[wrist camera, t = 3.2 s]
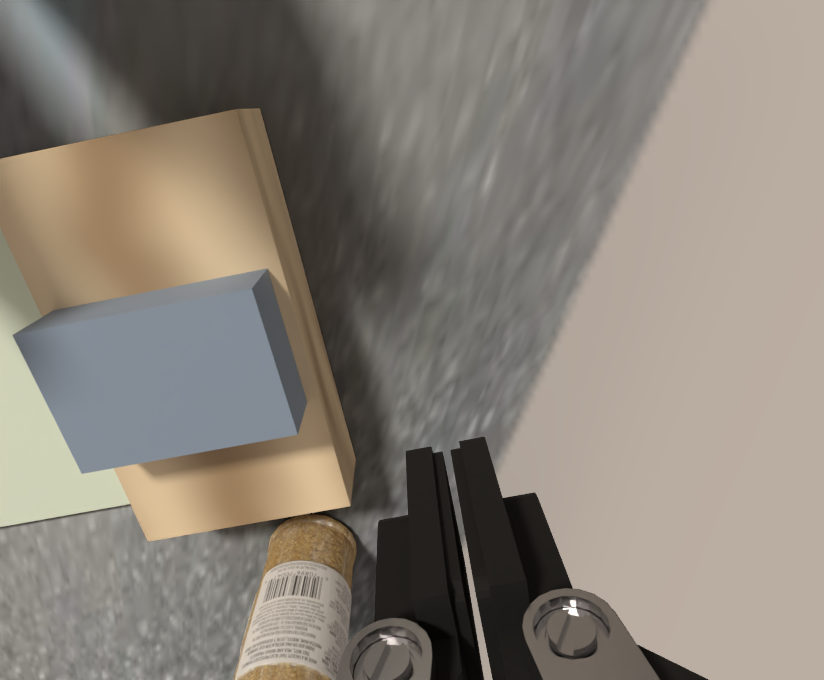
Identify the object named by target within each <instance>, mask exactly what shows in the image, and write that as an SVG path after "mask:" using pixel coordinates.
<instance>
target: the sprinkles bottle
mask: <svg viewBox="0 0 824 680" xmlns="http://www.w3.org/2000/svg"><path fill="white" fill-rule="evenodd" d="M356 553H357V549H356V542H355V539H354V537H353V535H352V533H351V532H350V531H349V530H348V528H347V527H345V526H344V525H342V524H341V523H340V522H339V521H337V520H334V519H333V518H331V517H328V516H325V515H317V514H312V515H310V514H306V515H300V516H296V517H292V518H290V519H288V520H286V521H285V522H283V523H282V524H281V525H280V526H279V527H278V528H277V529H276V530H275V531H274V533H273V534H272V536H271V538H270V541H269V548H268V558H267V561H266V565H265V568H264V572H263V576H262V579H261V583H260V587H259V590H258V592H257V594H256V596H255V599H254V603H253V606H252V610H251V613H250V617H249V620H248V624H247V628H246V631H245V635H244V638H243V642H242V646H241V650H240V658H239V661H238V665H237V668H236V672H235V675H234V680H335V679H336V675H337V671H338V668H339V664H340V660H341V657H342V655H343V652H344V650H345V647H346V645H347V644H348V633H349V622H350V611H351V586H352V575H353V573H352V569H353V565H354V562H355V557H356Z"/></svg>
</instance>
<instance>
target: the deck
mask: <svg viewBox="0 0 824 680" xmlns="http://www.w3.org/2000/svg"><path fill="white" fill-rule="evenodd" d="M0 229H1V231H2V233H3V235H4V237H5V239H6V241H7V244H8V246H9V248H10V250H11V252H12V254H13V256H14V258H15V260H16V263H17V265H18V267H19V269H20V271H21V273H22V275H23V277H24V280H25V282H26V284H27V286H28V288H29V290H30V292H31V294H32V296H33V299H34V301H35V303H36V305H37V307H38V309H39V311H40V313H41V316H42V317H43V316H45V315H47V314H48V313H50V312H51V311H53V310H58V309H63V308H68V307H73V306H78V305H83V304H88V303H93V302H98V301H104V300H109V299H114V298H119V297H124V296H129V295H134V294H139V293H144V292H149V291H155V290H160V289H165V288H170V287H175V286H180V285H185V284H190V283H195V282H200V281H206V280H211V279H216V278H221V277H226V276H231V275H236V274H241V273H246V272H251V271H257V270H262V269H267V268H268V272H269V275H270V278H271V282H272V285H273V288H274V292H275V295H276V298H277V302H278V305H279V309H280V312H281V315H282V319H283V322H284V325H285V329H286V332H287V335H288V339H289V342H290V345H291V349H292V352H293V355H294V359H295V362H296V365H297V369H298V372H299V375H300V379H301V382H302V386H303V389H304V392H305V396H306V399H307V405H306V408H305V412H304V415H303V419H302V422H301V425H300V429H299V432H298V435H294V436H288V437H283V438H277V439H272V440H266V441H261V442H255V443H250V444H244V445H239V446H233V447H228V448H222V449H217V450H211V451H206V452H200V453H195V454H189V455H183V456H178V457H172V458H167V459H161V460H156V461H150V462H145V463H139V464H134V465H128V466H123V467H117V468H114V470H115V472H116V474H117V477H118V479H119V481H120V483H121V485H122V487H123V489H124V491H125V494H126V496H127V498H128V500H129V502H130V504H131V506H132V508H133V510H134V513H135V515H136V517H137V519H138V521H139V523H140V525H141V527H142V530H143V532H144V534H145V536H146V538H147V540H148V541H154V540H160V539H165V538H171V537H177V536H183V535H188V534H194V533H200V532H206V531H211V530H217V529H223V528H228V527H234V526H240V525H246V524H251V523H257V522H263V521H269V520H274V519H280V518H286V517H292V516H297V515H303V514H309V513H314V512H320V511H326V510H332V509H337V508H343V507H349V506H351V498H352V489H353V480H354V471H355V462H356V458H355V454H354V451H353V447H352V443H351V440H350V436H349V432H348V429H347V425H346V421H345V418H344V414H343V410H342V407H341V403H340V399H339V396H338V392H337V388H336V385H335V381H334V378H333V374H332V370H331V367H330V363H329V359H328V356H327V352H326V348H325V345H324V341H323V337H322V334H321V330H320V326H319V323H318V319H317V315H316V312H315V308H314V304H313V301H312V297H311V293H310V290H309V286H308V282H307V279H306V275H305V271H304V268H303V264H302V260H301V257H300V253H299V249H298V246H297V242H296V238H295V235H294V231H293V227H292V224H291V220H290V216H289V213H288V209H287V206H286V202H285V198H284V195H283V191H282V187H281V184H280V180H279V176H278V173H277V169H276V165H275V162H274V158H273V154H272V151H271V147H270V143H269V140H268V136H267V132H266V129H265V125H264V121H263V118H262V114H261V110H260V108H254V109H234V110H229V111H225V112H220V113H215V114H210V115H206V116H201V117H196V118H191V119H187V120H182V121H177V122H172V123H168V124H163V125H158V126H153V127H149V128H144V129H139V130H134V131H130V132H125V133H120V134H115V135H111V136H106V137H101V138H96V139H92V140H87V141H82V142H77V143H72V144H68V145H63V146H58V147H53V148H49V149H44V150H39V151H34V152H30V153H25V154H20V155H15V156H11V157H6V158H1V159H0Z"/></svg>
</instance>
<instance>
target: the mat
mask: <svg viewBox="0 0 824 680" xmlns="http://www.w3.org/2000/svg"><path fill="white" fill-rule="evenodd" d="M40 318H42V316H41V313H40V311H39V309H38V307H37V305H36V303H35V301H34V299H33V296H32V294H31V292H30V290H29V288H28V286H27V284H26V282H25V280H24V277H23V275H22V273H21V271H20V269H19V267H18V265H17V263H16V260H15V258H14V256H13V254H12V252H11V250H10V248H9V246H8V244H7V241H6V239H5V237H4V235H3V233H2V231H1V229H0V527H3V526H9V525H15V524H20V523H26V522H32V521H37V520H43V519H48V518H54V517H60V516H65V515H71V514H76V513H82V512H88V511H93V510H99V509H105V508H110V507H116V506H121V505H127V504H130V502H129V500H128V498H127V496H126V494H125V491H124V489H123V487H122V485H121V483H120V481H119V479H118V477H117V474H116V472H115V470H114V468H112V469H106V470H101V471H95V472H90V473H84V474H82V473H81V471H80V469H79V467H78V465H77V463H76V461H75V459H74V457H73V455H72V453H71V451H70V449H69V447H68V445H67V443H66V441H65V439H64V437H63V435H62V433H61V431H60V429H59V427H58V425H57V423H56V421H55V419H54V417H53V415H52V413H51V411H50V409H49V407H48V405H47V403H46V401H45V399H44V397H43V395H42V393H41V391H40V389H39V387H38V385H37V383H36V381H35V379H34V377H33V375H32V373H31V371H30V369H29V367H28V365H27V363H26V361H25V359H24V357H23V355H22V353H21V351H20V349H19V347H18V345H17V343H16V341H15V339H14V337H13V334H15V333H17V332H18V331H20V330H22V329H23V328H25V327H27V326H28V325H30V324H32V323H33V322H35V321H37V320H38V319H40Z"/></svg>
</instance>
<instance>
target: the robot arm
mask: <svg viewBox="0 0 824 680" xmlns="http://www.w3.org/2000/svg"><path fill="white" fill-rule="evenodd" d="M459 443H460V448H459V449H453V450H451V456H452V461H453V467H454V473H455V478H456V484H457V490H458V496H459V501H460V507H461V513H462V518H463V524H464V530H465V535H466V541H467V547H468V552H469V558H470V564H471V570H472V575H473V580H474V586H475V592H476V597H477V602H478V607H479V612H480V617H481V622H482V627H483V632H484V637H485V643H486V648H487V653H488V657H489V662H490V668H491V673H492V678H493V680H708V679H706V678H704V677H702V676H700V675H698V674H696V673H694V672H691V671H689V670H688V669H686V668H684V667H682V666H680V665H678V664H676V663H673V662H671V661H669V660H667V659H665V658H663V657H661V656H659V655H657V654H655V653H653V652H651V651H649V650H647V649H645V648H643V647H641V646H639V645H637V644H636V643H635V641H634V640H633V638H632V637H631V635H630V634H629V632H628V631H627V629H626V627H625V626H624V624H623V623H622V622H621V620H620V618H619V617H618V615H617V614H616V612H615V611H614V610H613V609H612V608H611V607H610V606H609V604H608V603H607V602H605V601H604V600H603V599H601V598H599V597H598V596H596V595H595V594H592V593H589V592H586V591H583V590H580V589H573V588H572V585H571V583H570V580H569V578H568V575H567V572H566V570H565V567H564V564H563V562H562V559H561V557H560V554H559V552H558V549H557V546H556V544H555V542H554V539H553V536H552V533H551V531H550V528H549V526H548V523H547V520H546V518H545V515H544V513H543V510H542V507H541V505H540V502H539V500H538V497H537V495H536V494H535V493H529V494H524V495H518V496H513V497H507V498H502V495H501V492H500V488H499V484H498V481H497V478H496V474H495V471H494V467H493V464H492V460H491V457H490V453H489V450H488V447H487V443H486V440H485V437H480V438H475V439H469V440H464V441H459ZM406 471H407V496H408V515H406V516H401V517H395V518H390V519H384V520H380V521H379V522H378V539H377V567H376V595H375V622H374V623H372V624H370V625H368V626H366V627H364V628H363V629H362V630H361V631H359V632H358V633H357V634H355V635H354V637H353V638H352V639H351V640H350V642H349V643H348V644H347V645H346V647H345V650H344V652H343V655H342V657H341V660H340V664H339V668H338V671H337V675H336V679H335V680H484V677H483V671H482V665H481V660H480V653H479V647H478V641H477V635H476V628H475V623H474V616H473V610H472V604H471V598H470V591H469V585H468V579H467V573H466V567H465V562H464V556H463V551H462V546H461V541H460V536H459V531H458V526H457V521H456V516H455V511H454V506H453V501H452V496H451V491H450V486H449V481H448V476H447V471H446V466H445V461H444V456H443V452H437V453H433V451H432V448H431V447H426V448H420V449H415V450H409V451H406Z"/></svg>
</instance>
